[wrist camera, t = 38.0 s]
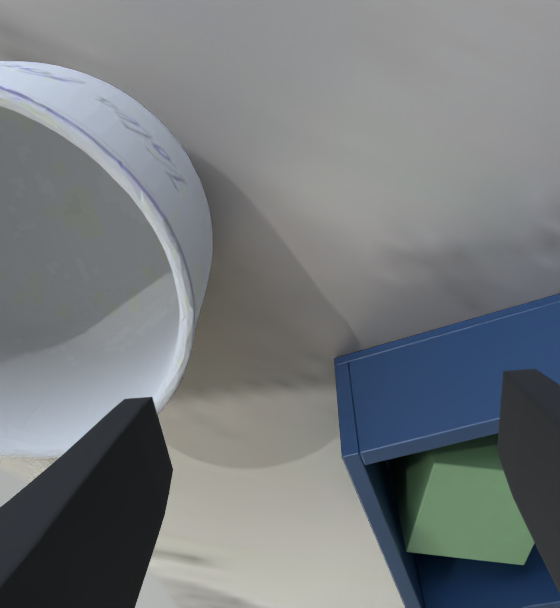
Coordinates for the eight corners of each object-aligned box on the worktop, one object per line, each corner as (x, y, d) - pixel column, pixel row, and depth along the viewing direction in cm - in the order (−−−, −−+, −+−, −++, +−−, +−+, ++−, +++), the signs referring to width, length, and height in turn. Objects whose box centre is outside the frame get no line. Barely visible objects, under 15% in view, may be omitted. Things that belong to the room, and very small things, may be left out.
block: (518, 397, 22) (566, 478, 18) (487, 476, 24) (524, 566, 20) (410, 384, 22) (434, 463, 18) (389, 465, 24) (405, 552, 20)
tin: (633, 271, 20) (752, 356, 15) (650, 460, 24) (747, 580, 19) (333, 357, 22) (341, 457, 17) (394, 516, 26) (416, 636, 21)
